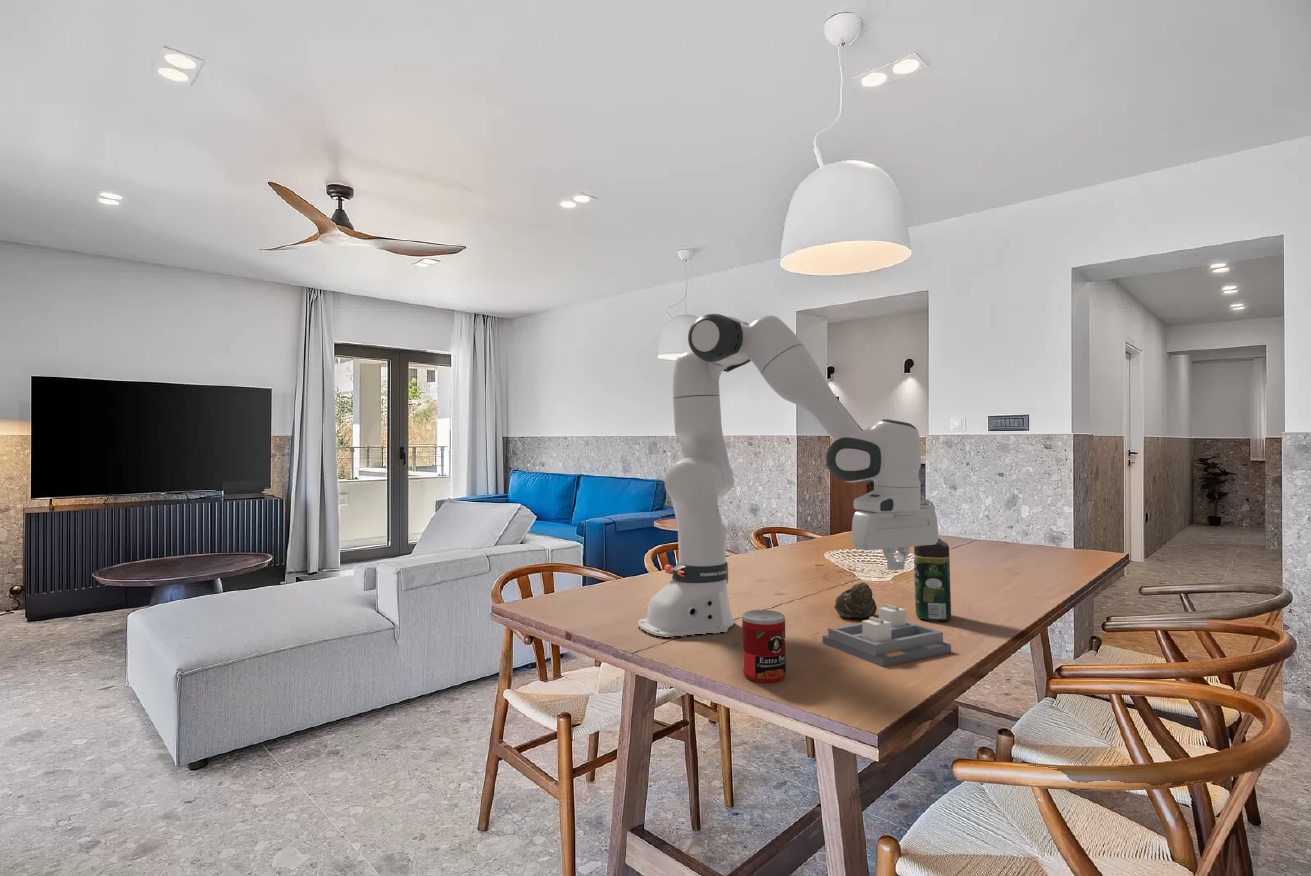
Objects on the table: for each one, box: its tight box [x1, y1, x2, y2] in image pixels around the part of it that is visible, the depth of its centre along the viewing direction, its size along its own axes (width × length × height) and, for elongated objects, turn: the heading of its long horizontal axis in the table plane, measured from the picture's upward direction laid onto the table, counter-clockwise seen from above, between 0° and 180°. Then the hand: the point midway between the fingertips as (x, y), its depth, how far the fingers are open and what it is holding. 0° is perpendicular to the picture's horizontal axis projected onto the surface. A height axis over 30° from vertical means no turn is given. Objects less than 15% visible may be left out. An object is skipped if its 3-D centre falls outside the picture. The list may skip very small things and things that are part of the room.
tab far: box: [878, 603, 907, 628], centre depth 142 cm, size 4×4×6 cm
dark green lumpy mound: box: [834, 582, 878, 619], centre depth 162 cm, size 11×12×10 cm
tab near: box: [861, 616, 891, 643], centre depth 132 cm, size 4×4×6 cm
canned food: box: [741, 609, 787, 684], centre depth 122 cm, size 8×8×11 cm
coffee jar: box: [913, 537, 952, 623], centre depth 159 cm, size 10×8×19 cm
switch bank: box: [821, 620, 952, 667], centre depth 137 cm, size 18×17×4 cm
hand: (895, 569), depth 135 cm, fingers closed
